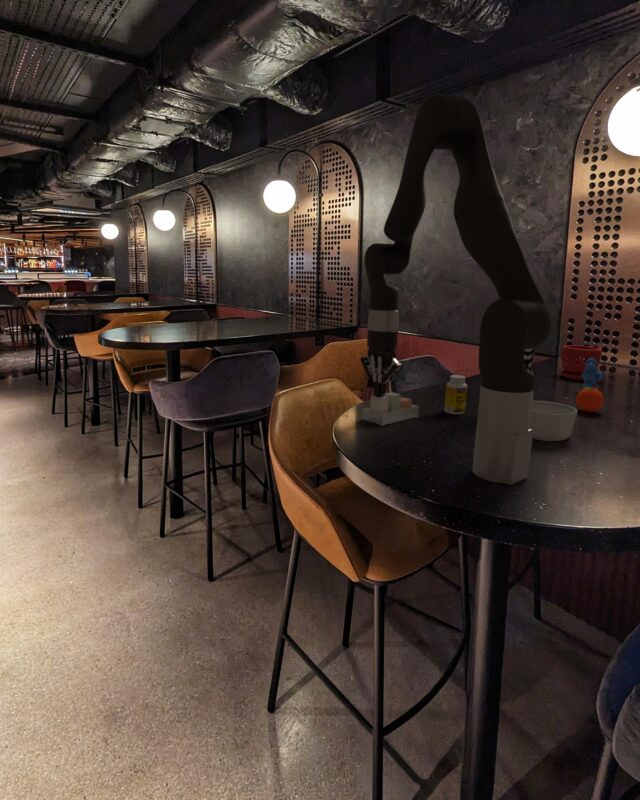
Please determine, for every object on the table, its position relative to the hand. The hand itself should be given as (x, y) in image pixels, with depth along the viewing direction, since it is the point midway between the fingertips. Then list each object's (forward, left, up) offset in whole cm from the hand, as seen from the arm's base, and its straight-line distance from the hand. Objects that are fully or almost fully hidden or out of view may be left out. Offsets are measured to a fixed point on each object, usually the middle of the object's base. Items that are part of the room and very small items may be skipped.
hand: (379, 396), depth 129 cm
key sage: (0, -5, -4) cm, 6 cm away
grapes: (-20, -80, -7) cm, 82 cm away
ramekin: (-32, -25, -7) cm, 41 cm away
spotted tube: (-16, -38, -7) cm, 41 cm away
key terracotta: (0, -9, -6) cm, 11 cm away
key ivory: (0, 0, -4) cm, 4 cm away
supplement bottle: (-7, -24, -7) cm, 25 cm away
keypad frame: (0, -5, -7) cm, 8 cm away
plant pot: (-6, -103, -7) cm, 103 cm away
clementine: (-29, -56, -7) cm, 63 cm away
